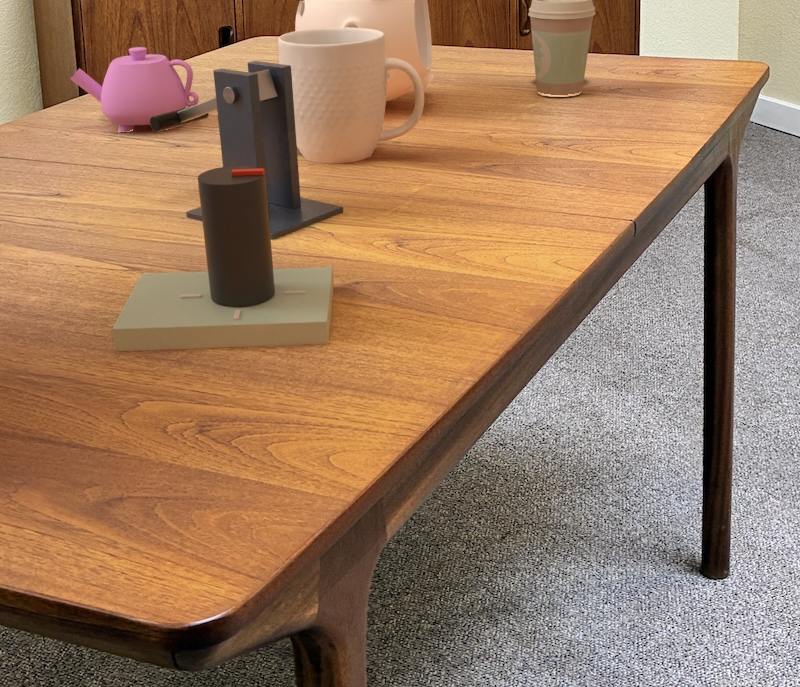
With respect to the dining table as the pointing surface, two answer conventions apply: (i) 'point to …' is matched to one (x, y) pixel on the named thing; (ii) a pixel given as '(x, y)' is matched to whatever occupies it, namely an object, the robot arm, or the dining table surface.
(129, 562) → the dining table surface
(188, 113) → the lever
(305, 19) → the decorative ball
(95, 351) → the dining table surface
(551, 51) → the coffee cup
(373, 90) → the mug
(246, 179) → the program knob
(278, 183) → the bracket
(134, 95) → the teapot
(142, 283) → the panel
